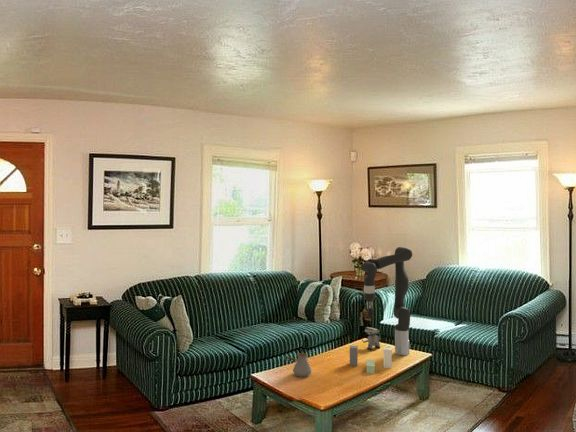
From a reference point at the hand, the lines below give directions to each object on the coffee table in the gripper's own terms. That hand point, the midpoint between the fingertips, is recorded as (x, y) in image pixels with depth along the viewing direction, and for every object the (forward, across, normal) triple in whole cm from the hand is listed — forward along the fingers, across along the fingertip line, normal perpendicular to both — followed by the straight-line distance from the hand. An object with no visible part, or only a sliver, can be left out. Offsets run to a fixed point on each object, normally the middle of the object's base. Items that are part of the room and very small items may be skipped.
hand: (369, 317), depth 341 cm
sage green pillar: (+27, +14, 0) cm, 30 cm away
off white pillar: (+30, +12, +11) cm, 34 cm away
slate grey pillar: (+29, +11, -11) cm, 33 cm away
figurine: (+30, -27, +2) cm, 40 cm away
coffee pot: (+28, +39, -46) cm, 66 cm away
